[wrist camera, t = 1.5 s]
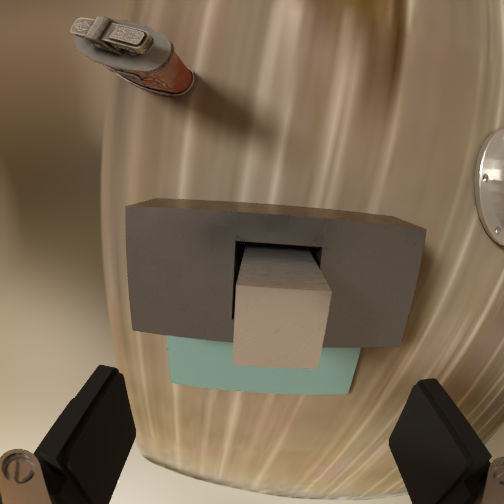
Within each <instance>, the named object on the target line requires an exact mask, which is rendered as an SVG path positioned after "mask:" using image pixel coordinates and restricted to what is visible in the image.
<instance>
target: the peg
mask: <svg viewBox="0 0 504 504" xmlns="http://www.w3.org/2000/svg"><path fill="white" fill-rule="evenodd" d="M331 295H332V290H331V289H330V287H329V285H328V283H327V281H326V280H325V278H324V276H323V274H322V272H321V271H320V269H319V267H318V265H317V264H316V262H315V260H314V258H313V257H312V255H311V253H310V251H309V250H308V248H307V246H301V245H287V244H274V243H260V242H247V243H246V247H245V251H244V255H243V259H242V263H241V267H240V271H239V275H238V279H237V284H236V297H235V317H234V339H233V362H232V365H242V366H255V367H272V368H294V369H318V364H319V360H320V355H321V350H322V345H323V340H324V335H325V329H326V324H327V318H328V313H329V307H330V301H331Z"/></svg>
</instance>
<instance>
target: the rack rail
mask: <svg viewBox="0 0 504 504" xmlns="http://www.w3.org/2000/svg"><path fill="white" fill-rule="evenodd" d="M426 231H427V229H424V228H422V227H419V226H417V225H414V224H411V223H409V222H406V221H404V220H401V219H398V218H396V217H393V216H385V215H376V214H368V213H359V212H349V211H340V210H330V209H319V208H308V207H297V206H285V205H272V204H258V203H243V202H227V201H208V200H186V199H158V198H156V199H152V200H148V201H144V202H140V203H137V204H133V205H129V206H126V254H127V273H128V287H129V300H130V310H131V320H132V329H133V330H134V331H140V332H147V333H154V334H161V335H168V336H176V337H184V338H192V339H201V340H210V341H220V342H231V343H233V339H234V317H235V297H236V284H237V279H238V275H239V269H240V251H241V241H246V242H260V243H274V244H287V245H301V246H307V248H308V250H309V251H310V253H311V255H312V257H313V258H314V260H315V262H316V264H317V265H318V267H319V269H320V271H321V272H322V274H323V276H324V278H325V280H326V281H327V283H328V285H329V287H330V289H331V290H332V295H331V301H330V307H329V313H328V318H327V324H326V329H325V335H324V340H323V345H322V347H324V348H376V347H400V344H401V341H402V338H403V334H404V331H405V327H406V324H407V320H408V317H409V313H410V309H411V305H412V301H413V297H414V293H415V288H416V284H417V279H418V275H419V270H420V265H421V260H422V255H423V249H424V243H425V237H426Z"/></svg>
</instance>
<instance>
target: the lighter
mask: <svg viewBox="0 0 504 504" xmlns="http://www.w3.org/2000/svg"><path fill="white" fill-rule="evenodd" d="M70 31H71V32H72V33H73V34H75V35H76V37H75V40H74V48H75V49H76V51H78V52H80V53H81V54H83V55H85V56H86V57H88V58H90V59H91V60H93V61H95V62H98V63H100V64H102V65H103V66H104V67H106V68H107V69H109V70H110V71H112V72H115V73H116V74H117V75H119V76H120V77H122V78H124V79H125V80H127V81H128V82H130V83H131V84H133V85H136V86H138V87H140V88H142V89H144V90H147V91H150V92H154V93H157V94H160V95H165V96H171V97H176V98H182V97H185V96H187V95H188V94H190V93H191V92H192V91H193V89H194V88H195V85H196V76H195V74H194V72H193V71H192V70H191V69H190V68H188V67H187V66H185V65H184V63H183V62H182V61H181V59H180V58H179V57H178V56H177V54H176V53H175V52H174V47H173V44H172V43H171V41H170V40H169V39H168V38H167V37H166V36H164V35H162V34H160V33H158V32H157V31H155V30H153V29H151V28H149V27H146V26H143V25H140V24H137V23H134V22H131V21H123V20H115V19H109V18H107V17H103V16H98V17H97V19H96V20H94V19H87V18H79V19H77V20H76V21H75V22H74V24H73V26H72V27H71V30H70Z"/></svg>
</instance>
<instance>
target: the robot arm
mask: <svg viewBox="0 0 504 504" xmlns="http://www.w3.org/2000/svg"><path fill="white" fill-rule="evenodd" d="M474 180H475V199H476V206H477V210H478V214H479V217H480V220H481V222H482V225H483V227H484V229H485V230H486V232H487V234H488V235H489V236H490V237H491V238H492V240H494V241H495V242H496V243H498V244H500V245H502V246H504V129H498V130H496V131H495V132H493V133H492V134H491V135H490V136H489V137H488V138H487V139H486V140H485V142H484V144H483V145H482V147H481V150H480V153H479V155H478V159H477V164H476V169H475V179H474ZM135 437H136V428H135V424H134V420H133V416H132V412H131V408H130V404H129V399H128V395H127V390H126V385H125V380H124V376H123V374H121V373H119V370H118V369H117V368H114V367H109V366H104V365H99V366H98V367H97V368H96V370H95V371H94V373H93V374H92V375H91V377H90V378H89V379H88V381H87V382H86V383H85V385H84V386H83V387H82V389H81V390H80V392H79V393H78V394H77V396H76V397H75V398H73V399H72V400H71V401H70V402H69V404H68V405H67V406H66V408H65V409H64V411H63V412H62V414H61V415H60V416H59V417H58V419H57V420H56V422H55V423H54V425H53V426H52V427H51V429H50V430H49V432H48V433H47V435H46V436H45V437H44V439H43V440H42V442H41V443H40V445H39V446H38V448H37V449H36V451H35V452H34V454H32V453H31V452H29V451H27V450H23V449H13V450H9V451H7V452H6V453H4V454H3V455H2V456H1V457H0V504H109V502H110V499H111V497H112V494H113V492H114V489H115V487H116V484H117V482H118V479H119V477H120V474H121V472H122V469H123V467H124V464H125V462H126V459H127V457H128V455H129V452H130V450H131V447H132V445H133V443H134V440H135ZM389 447H390V449H391V452H392V454H393V457H394V459H395V461H396V464H397V466H398V469H399V471H400V474H401V476H402V478H403V481H404V483H405V486H406V488H407V491H408V494H409V496H410V498H411V501H412V504H504V457H499V458H497V459H495V460H493V462H492V463H490V462H489V460H490V458H491V457H492V456H491V454H490V453H489V452H488V450H487V448H486V447H485V445H484V444H483V442H482V441H481V440H480V438H479V437H478V435H477V434H476V432H475V431H474V430H473V428H472V427H471V425H470V424H469V422H468V421H467V420H466V418H465V417H464V416H463V414H462V413H461V411H460V410H459V409H458V407H457V406H456V405H455V403H454V402H453V401H452V399H451V398H450V396H449V395H448V394H447V393H446V391H445V390H444V389H443V387H442V386H441V385H440V383H439V382H438V381H437V380H436V379H434V378H432V379H424V380H419V381H418V382H417V384H416V385H414V386H413V388H412V390H411V393H410V395H409V397H408V400H407V402H406V404H405V407H404V409H403V411H402V413H401V415H400V417H399V420H398V422H397V424H396V426H395V428H394V430H393V432H392V434H391V436H390V438H389Z"/></svg>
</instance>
